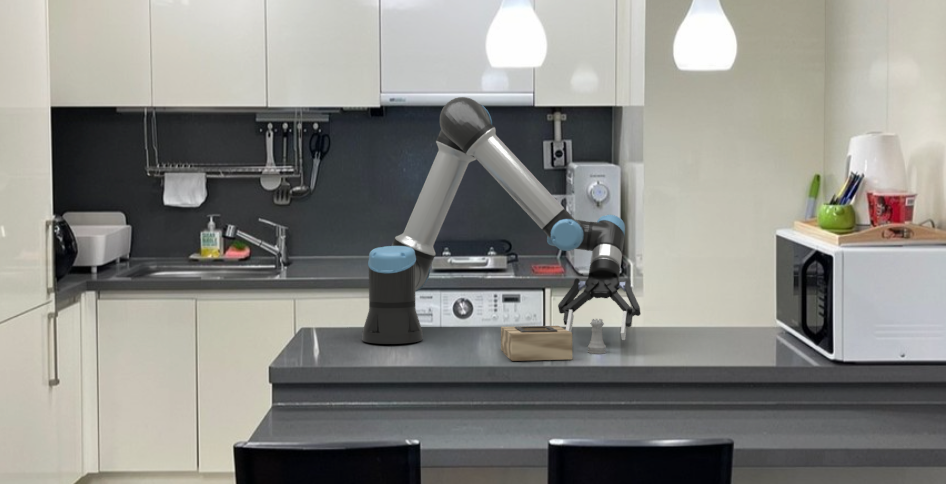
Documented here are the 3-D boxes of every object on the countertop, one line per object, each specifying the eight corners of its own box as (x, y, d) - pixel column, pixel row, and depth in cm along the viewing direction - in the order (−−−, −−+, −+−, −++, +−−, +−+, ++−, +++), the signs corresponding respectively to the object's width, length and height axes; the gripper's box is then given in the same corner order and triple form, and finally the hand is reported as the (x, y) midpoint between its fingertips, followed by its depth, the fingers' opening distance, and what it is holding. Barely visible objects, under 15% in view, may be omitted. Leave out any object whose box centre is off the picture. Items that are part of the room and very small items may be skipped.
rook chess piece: (605, 355, 226) (606, 321, 225) (586, 354, 226) (586, 320, 226) (606, 351, 230) (607, 318, 229) (588, 350, 231) (588, 317, 230)
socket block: (500, 351, 231) (500, 325, 231) (557, 350, 233) (557, 324, 233) (511, 360, 217) (511, 332, 217) (572, 359, 219) (572, 331, 219)
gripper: (655, 277, 239) (649, 347, 225) (558, 276, 246) (546, 343, 232) (653, 257, 234) (646, 327, 220) (554, 256, 241) (541, 323, 227)
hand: (595, 335), depth 226 cm, fingers open, 12 cm apart
